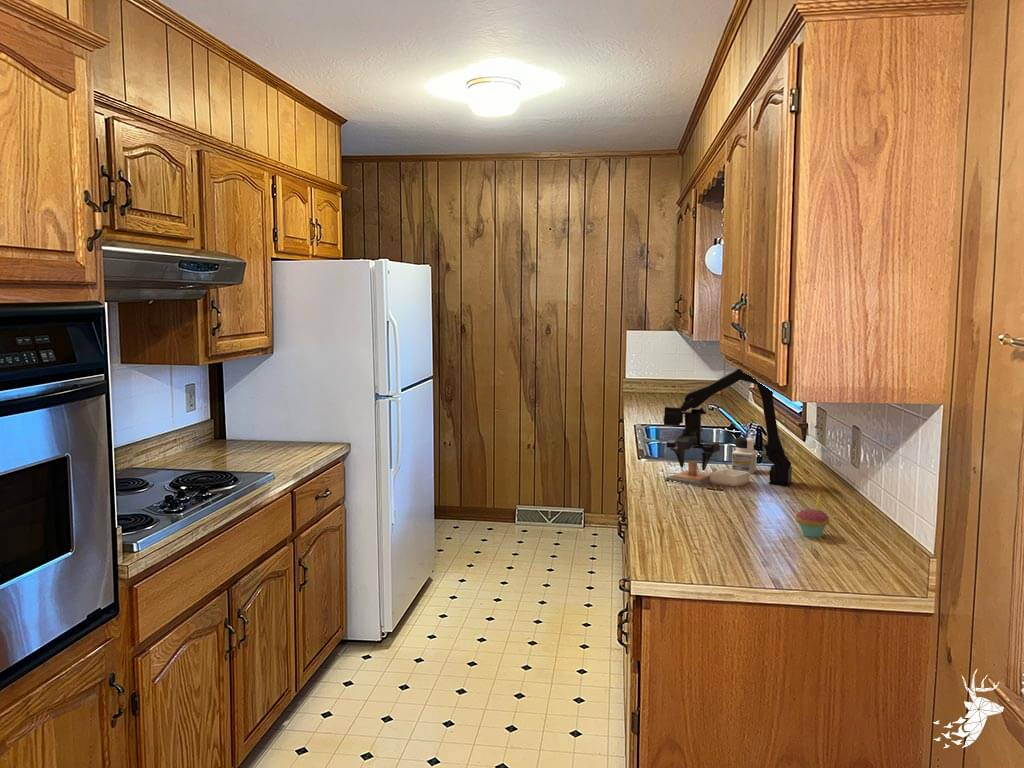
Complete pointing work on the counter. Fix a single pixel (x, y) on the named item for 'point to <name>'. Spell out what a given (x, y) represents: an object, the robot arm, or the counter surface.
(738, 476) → the dish
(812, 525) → the cupcake
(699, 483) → the trivet
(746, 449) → the container
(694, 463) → the lid
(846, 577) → the counter surface
